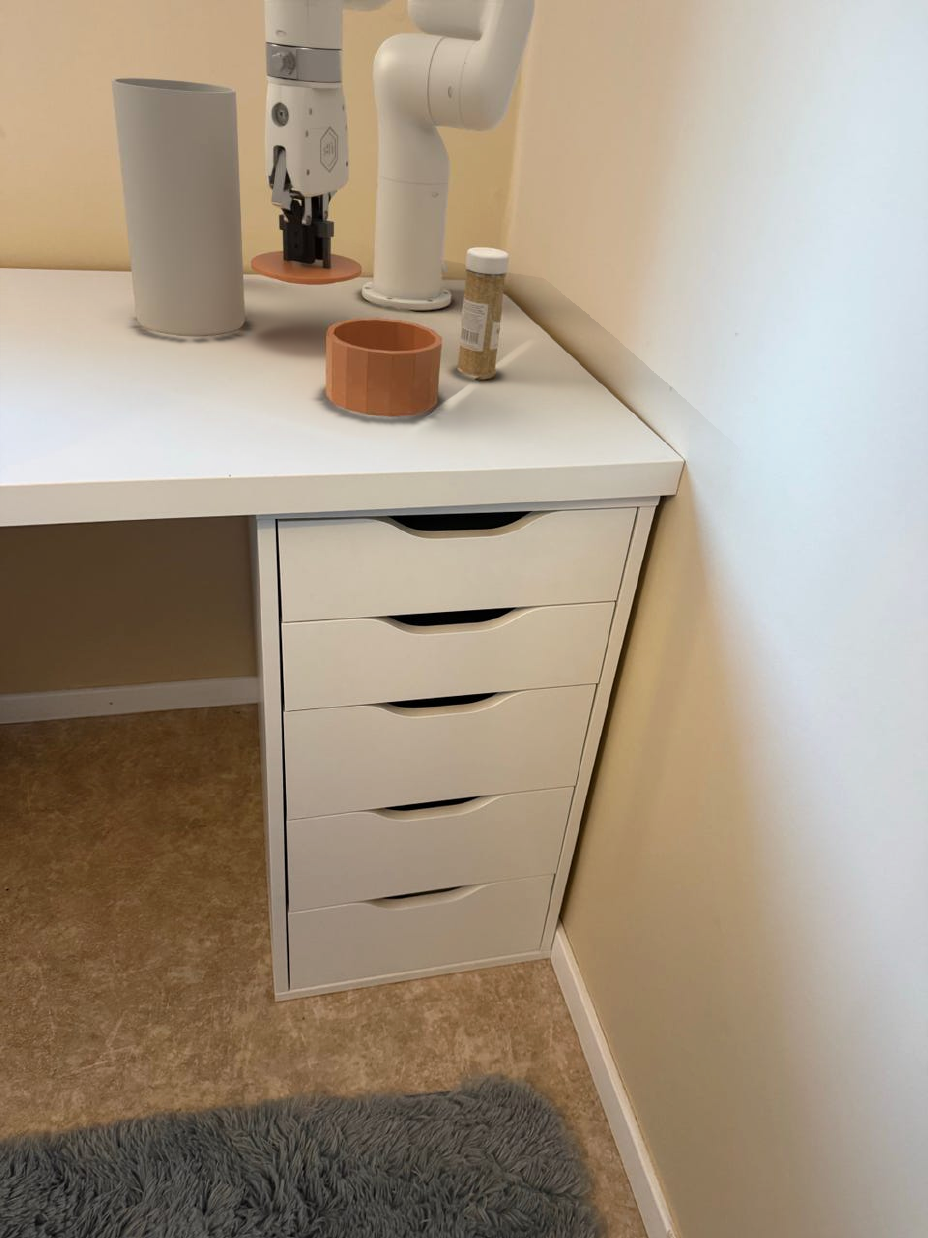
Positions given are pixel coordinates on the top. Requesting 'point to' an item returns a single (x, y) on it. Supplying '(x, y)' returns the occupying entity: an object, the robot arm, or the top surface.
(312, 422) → the top surface
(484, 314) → the sprinkles bottle
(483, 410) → the top surface
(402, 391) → the pot
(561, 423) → the top surface
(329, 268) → the lid
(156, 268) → the cylinder vase
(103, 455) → the top surface
